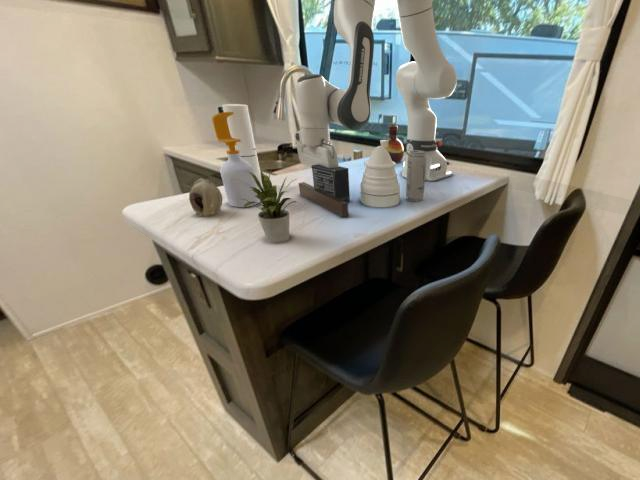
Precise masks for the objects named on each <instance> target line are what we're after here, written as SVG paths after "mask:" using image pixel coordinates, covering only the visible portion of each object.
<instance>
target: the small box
mask: <svg viewBox="0 0 640 480" xmlns="http://www.w3.org/2000/svg"><path fill="white" fill-rule="evenodd" d="M338 166H339V167H335V168H327V167H324V166H322V165H319V164H318V165H312V168H311V172H312V182H313V187H315V188H317V189H319V190H322V191H324V192H326V193H328V194H330V195H332V196H334V197H336V198H338V199H341V200H343V201H345V202H347V203H349V202H350V177H349V176H350V174H349V168H348V167H344V166H340V165H338Z"/></svg>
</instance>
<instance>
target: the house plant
mask: <svg viewBox="0 0 640 480" xmlns="http://www.w3.org/2000/svg"><path fill="white" fill-rule="evenodd" d="M272 171H273V170H272V169H270V171H269V174H268V175H267V174H265V173H264V172H263V170H260V172H261V181H262V185H263V188H262V186H261V184H260V182H259V180H258V179H257V177H256V176H255V175H254V174H253V173H251V172H249V171H248V172H249V173H250V174H251V175H252V177H253V178H254V180H255V182H256V184H257V185H258V187H259V188H260V189H259V190H258V189H257V188H255V187H251V188H253V189H251V188H250V189H251V190H252V191H253V192H254V193H255V192H256V193H257V194H258V195H255V197H257V198H258V199H260V202H261V203H262V204H261V203H260V202H259V203H258V204H257V205H258V206H257V205H254V204H253V205H254V207H256V208H258V209H259V210H261V211H260V212H258V214H257V217H258V220H259V224H260V226H261V228H262V230H263V234H264V236H265V238H266V240H267V242H268V243H273V244H279V243H285V242H286V241H289V239H290V211H289V210H287V209H286V208H287V207H288V206H289V205H290V204H292V203H298V204H299V202H298V201H296V200H293V201H290V202H289V203H288V204H286V205H285V203H286V202H287V201H289V200H292V198H291V197H284V198H282V196H283V195H284V194H285V193H286V192H287V193H289V191H287V190H286V189H287V187H285V188H284V190H283V187H284V185H285V183H286V180H287V177H285V178H284V180H283V182H282V184H281V186H280V189H279V192H278V191H277V185H273V183H272V181H271V179H270V176H271V172H272ZM234 180H238V179H234ZM297 180H298V178H295V179H293V180H291V181H290V182H289V183H288V184H287V186H290V184H292V182H294V181H297ZM240 181H241V180H240ZM243 182H244V181H243ZM245 183H246V182H245ZM240 184H242V183H240ZM244 185H245V184H244ZM248 185H249V184H248ZM246 186H247V185H246ZM246 188H247V187H246ZM282 190H283V191H282ZM281 198H282V199H281ZM243 200H245V199H243ZM246 201H248V200H246ZM252 203H257V202H249V201H248V202H247V203H246V204H245V205H244V207H242V209H244V208H247V207H246V206H247V205H250V204H252ZM284 205H285V206H284ZM260 206H261V207H260ZM283 206H284V207H283ZM282 208H283V209H282Z"/></svg>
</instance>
